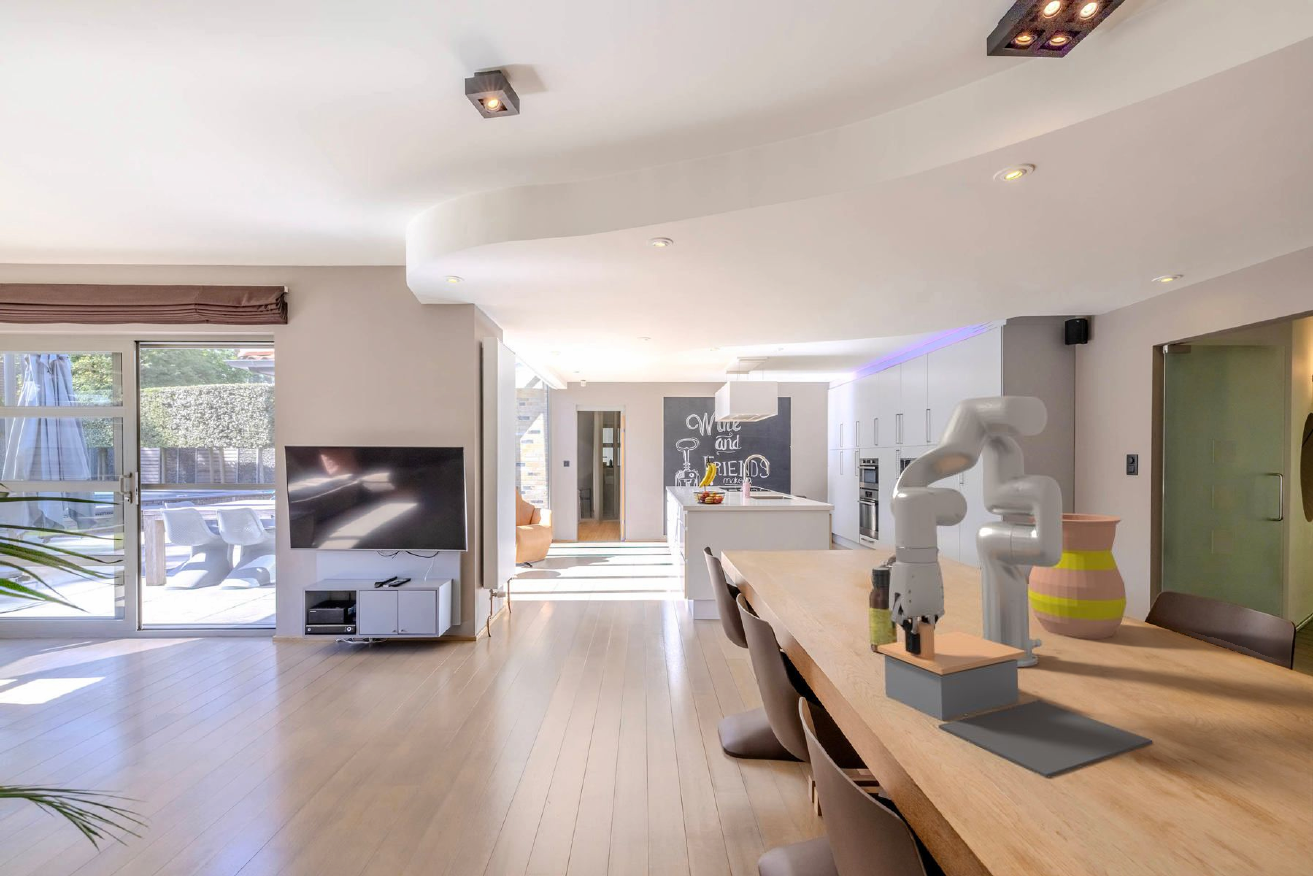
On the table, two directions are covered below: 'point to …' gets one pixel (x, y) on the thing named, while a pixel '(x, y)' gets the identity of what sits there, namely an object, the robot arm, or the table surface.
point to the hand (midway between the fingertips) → (919, 651)
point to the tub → (952, 687)
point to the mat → (1045, 737)
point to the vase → (1081, 581)
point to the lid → (951, 651)
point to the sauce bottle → (881, 611)
